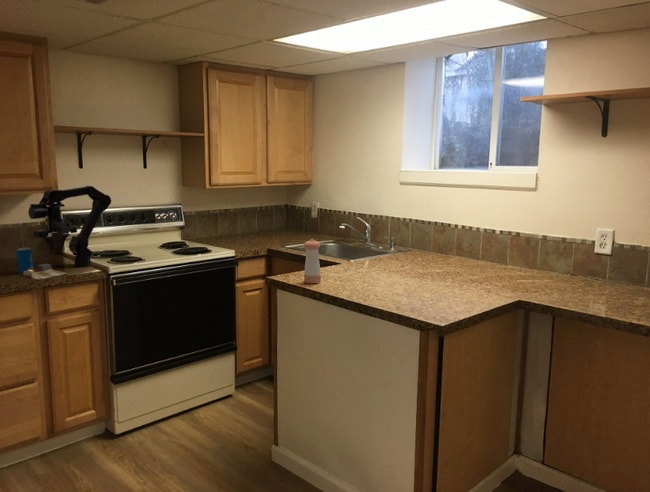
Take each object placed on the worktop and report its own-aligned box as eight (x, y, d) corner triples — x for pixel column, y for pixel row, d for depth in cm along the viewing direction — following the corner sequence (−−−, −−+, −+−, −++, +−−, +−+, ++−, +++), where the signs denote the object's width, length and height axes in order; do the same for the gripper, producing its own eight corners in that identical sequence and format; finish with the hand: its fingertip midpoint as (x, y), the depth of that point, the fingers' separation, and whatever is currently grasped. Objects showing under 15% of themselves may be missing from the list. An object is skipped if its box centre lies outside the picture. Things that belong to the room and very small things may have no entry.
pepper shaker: (310, 285, 239) (309, 241, 235) (300, 281, 245) (300, 238, 241) (323, 282, 243) (323, 239, 240) (314, 279, 249) (314, 237, 245)
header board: (52, 271, 265) (51, 265, 264) (68, 275, 258) (68, 268, 257) (23, 277, 253) (22, 271, 252) (39, 281, 246) (38, 274, 245)
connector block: (46, 271, 260) (46, 263, 259) (51, 273, 258) (50, 264, 257) (38, 273, 257) (37, 265, 256) (43, 274, 255) (42, 266, 254)
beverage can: (27, 275, 257) (24, 250, 255) (15, 275, 258) (12, 249, 256) (37, 272, 263) (34, 247, 261) (25, 271, 265) (22, 247, 263)
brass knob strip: (29, 275, 253) (28, 268, 253) (35, 276, 251) (34, 270, 250) (25, 276, 252) (24, 269, 251) (31, 277, 249) (30, 270, 249)
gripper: (44, 220, 246) (48, 254, 249) (82, 215, 262) (85, 248, 265) (30, 218, 252) (34, 252, 255) (68, 214, 268) (71, 246, 271)
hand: (57, 249), depth 261 cm, fingers open, 4 cm apart
